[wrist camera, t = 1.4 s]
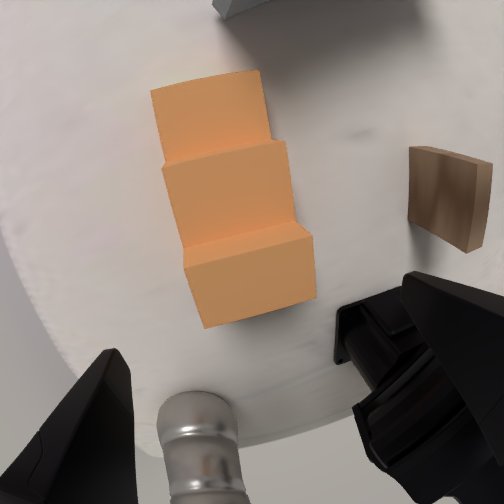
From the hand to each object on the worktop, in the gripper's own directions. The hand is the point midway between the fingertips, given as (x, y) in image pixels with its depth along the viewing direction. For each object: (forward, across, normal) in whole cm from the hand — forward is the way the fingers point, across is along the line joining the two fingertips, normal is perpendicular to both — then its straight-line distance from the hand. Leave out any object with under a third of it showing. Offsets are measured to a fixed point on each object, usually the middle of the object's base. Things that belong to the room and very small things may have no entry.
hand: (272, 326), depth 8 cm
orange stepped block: (+9, 0, -3) cm, 10 cm away
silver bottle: (+9, +6, +15) cm, 19 cm away
